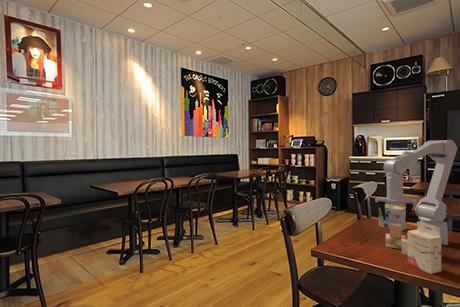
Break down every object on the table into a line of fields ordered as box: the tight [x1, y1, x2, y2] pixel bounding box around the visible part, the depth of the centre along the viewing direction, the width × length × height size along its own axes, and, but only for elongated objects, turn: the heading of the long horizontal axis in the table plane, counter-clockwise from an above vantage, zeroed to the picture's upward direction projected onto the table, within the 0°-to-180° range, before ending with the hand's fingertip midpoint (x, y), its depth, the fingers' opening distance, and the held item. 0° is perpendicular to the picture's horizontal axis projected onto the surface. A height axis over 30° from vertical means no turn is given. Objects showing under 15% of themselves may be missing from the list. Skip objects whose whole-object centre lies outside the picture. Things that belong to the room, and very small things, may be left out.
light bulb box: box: [378, 203, 408, 232], centre depth 134 cm, size 11×7×11 cm, turn 37°
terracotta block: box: [389, 223, 402, 239], centre depth 111 cm, size 4×4×5 cm
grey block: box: [401, 237, 408, 256], centre depth 103 cm, size 4×4×5 cm
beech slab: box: [385, 233, 407, 250], centre depth 111 cm, size 7×7×4 cm
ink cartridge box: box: [407, 221, 442, 274], centre depth 91 cm, size 9×5×15 cm, turn 17°
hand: (395, 220), depth 111 cm, fingers open, 7 cm apart
